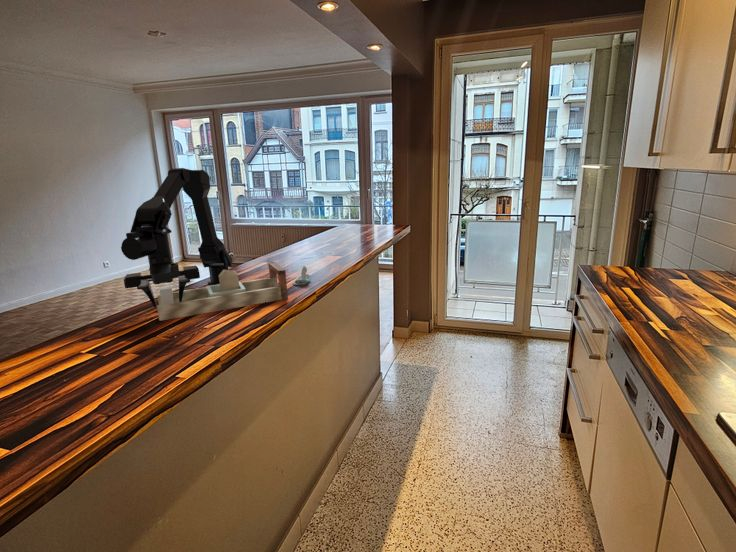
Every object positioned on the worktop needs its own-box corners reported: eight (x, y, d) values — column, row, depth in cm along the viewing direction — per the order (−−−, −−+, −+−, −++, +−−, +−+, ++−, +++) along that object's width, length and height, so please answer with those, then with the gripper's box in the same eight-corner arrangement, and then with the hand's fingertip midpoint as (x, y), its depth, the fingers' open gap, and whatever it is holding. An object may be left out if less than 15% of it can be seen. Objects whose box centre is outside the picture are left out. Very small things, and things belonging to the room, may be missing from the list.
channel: (159, 321, 110) (153, 289, 108) (159, 307, 122) (154, 278, 119) (287, 298, 125) (285, 270, 123) (277, 288, 137) (274, 262, 134)
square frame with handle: (163, 317, 112) (159, 293, 110) (163, 307, 121) (159, 284, 119) (247, 303, 121) (244, 280, 120) (241, 294, 130) (238, 273, 128)
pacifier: (290, 286, 139) (307, 286, 138) (288, 269, 137) (305, 268, 136) (296, 281, 146) (312, 280, 145) (294, 264, 144) (310, 263, 143)
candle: (244, 298, 126) (240, 267, 124) (236, 304, 121) (232, 272, 119) (227, 298, 127) (223, 267, 125) (219, 304, 122) (214, 272, 119)
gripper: (117, 261, 101) (128, 320, 105) (197, 252, 109) (205, 307, 113) (120, 254, 111) (131, 308, 115) (194, 246, 119) (202, 297, 123)
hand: (168, 305), depth 116 cm, fingers open, 6 cm apart
